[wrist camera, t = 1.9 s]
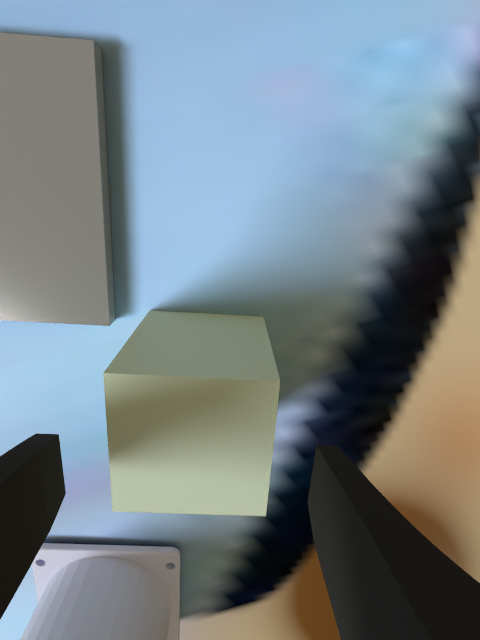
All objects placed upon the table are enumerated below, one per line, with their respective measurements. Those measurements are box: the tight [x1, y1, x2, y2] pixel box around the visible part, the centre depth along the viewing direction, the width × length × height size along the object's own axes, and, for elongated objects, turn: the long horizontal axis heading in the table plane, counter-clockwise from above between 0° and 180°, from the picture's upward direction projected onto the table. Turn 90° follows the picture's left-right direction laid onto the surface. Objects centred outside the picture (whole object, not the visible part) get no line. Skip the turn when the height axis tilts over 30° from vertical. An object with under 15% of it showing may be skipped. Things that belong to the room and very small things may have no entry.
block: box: [103, 310, 281, 516], centre depth 14 cm, size 5×5×6 cm
